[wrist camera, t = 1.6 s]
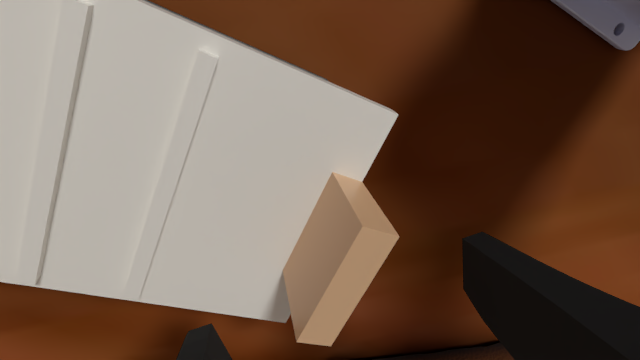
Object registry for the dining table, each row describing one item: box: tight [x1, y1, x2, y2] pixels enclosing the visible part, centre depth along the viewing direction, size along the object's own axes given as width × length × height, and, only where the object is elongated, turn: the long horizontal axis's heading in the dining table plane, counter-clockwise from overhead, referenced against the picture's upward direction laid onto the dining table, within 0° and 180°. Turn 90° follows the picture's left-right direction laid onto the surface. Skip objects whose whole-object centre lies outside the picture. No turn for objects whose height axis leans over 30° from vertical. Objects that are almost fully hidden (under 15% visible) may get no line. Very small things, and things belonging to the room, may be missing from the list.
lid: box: [0, 0, 399, 346], centre depth 10 cm, size 15×10×5 cm, turn 65°
